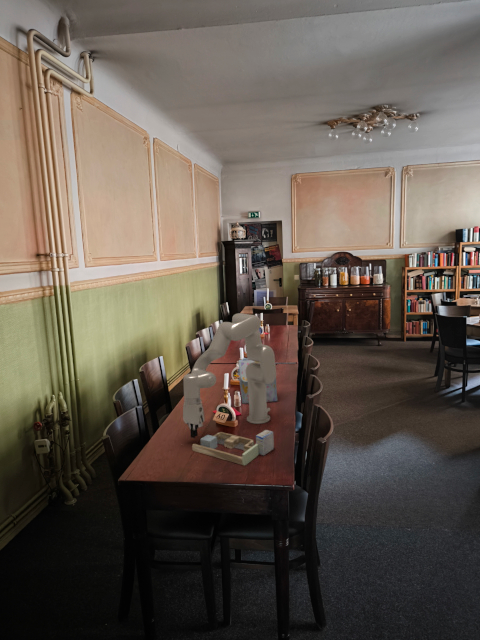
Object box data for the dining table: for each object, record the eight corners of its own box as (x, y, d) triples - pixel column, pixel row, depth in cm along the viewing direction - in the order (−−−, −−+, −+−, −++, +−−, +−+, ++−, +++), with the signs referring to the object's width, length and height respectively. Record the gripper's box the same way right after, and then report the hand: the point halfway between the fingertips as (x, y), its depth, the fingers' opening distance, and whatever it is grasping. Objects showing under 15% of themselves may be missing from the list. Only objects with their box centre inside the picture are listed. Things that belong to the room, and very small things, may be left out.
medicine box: (266, 446, 201) (265, 429, 200) (274, 449, 198) (273, 431, 197) (256, 453, 195) (255, 435, 194) (264, 456, 192) (263, 437, 191)
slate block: (208, 444, 207) (207, 434, 206) (217, 446, 203) (216, 436, 203) (201, 449, 202) (200, 439, 201) (210, 451, 199) (209, 441, 198)
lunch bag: (240, 406, 255) (238, 362, 250) (239, 396, 271) (237, 355, 267) (278, 403, 255) (276, 360, 251) (275, 394, 272) (273, 353, 268)
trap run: (215, 436, 215) (215, 430, 214) (263, 448, 199) (263, 442, 199) (192, 450, 200) (192, 444, 200) (242, 465, 185) (242, 458, 184)
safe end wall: (256, 454, 194) (256, 443, 193) (258, 454, 193) (258, 444, 193) (242, 465, 185) (242, 454, 184) (244, 465, 184) (244, 454, 183)
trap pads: (220, 438, 211) (220, 438, 211) (250, 446, 202) (250, 446, 202) (214, 442, 208) (214, 442, 208) (245, 450, 198) (245, 450, 198)
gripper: (209, 400, 203) (211, 437, 206) (185, 395, 211) (187, 430, 214) (199, 405, 197) (201, 442, 199) (175, 399, 205) (177, 436, 208)
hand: (194, 436), depth 207 cm, fingers closed
